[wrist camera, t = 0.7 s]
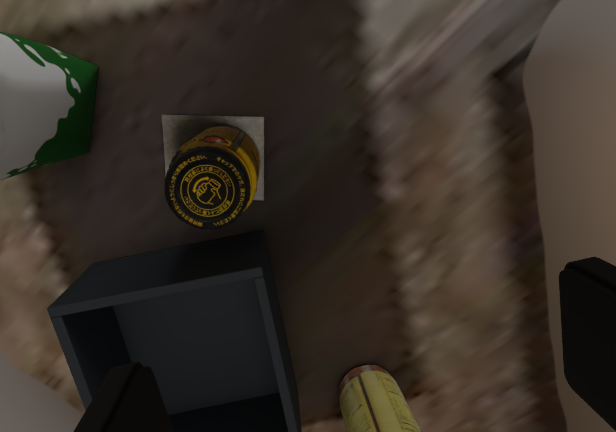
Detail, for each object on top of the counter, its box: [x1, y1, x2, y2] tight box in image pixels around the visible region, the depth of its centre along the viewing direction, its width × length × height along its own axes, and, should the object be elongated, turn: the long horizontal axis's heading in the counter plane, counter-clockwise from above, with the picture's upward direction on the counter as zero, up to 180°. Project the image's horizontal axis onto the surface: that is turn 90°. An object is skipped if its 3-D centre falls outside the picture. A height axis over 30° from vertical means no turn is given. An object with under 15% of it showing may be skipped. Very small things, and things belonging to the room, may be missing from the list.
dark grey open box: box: [47, 231, 301, 432], centre depth 38 cm, size 18×16×9 cm
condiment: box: [162, 115, 264, 229], centre depth 33 cm, size 7×8×12 cm
